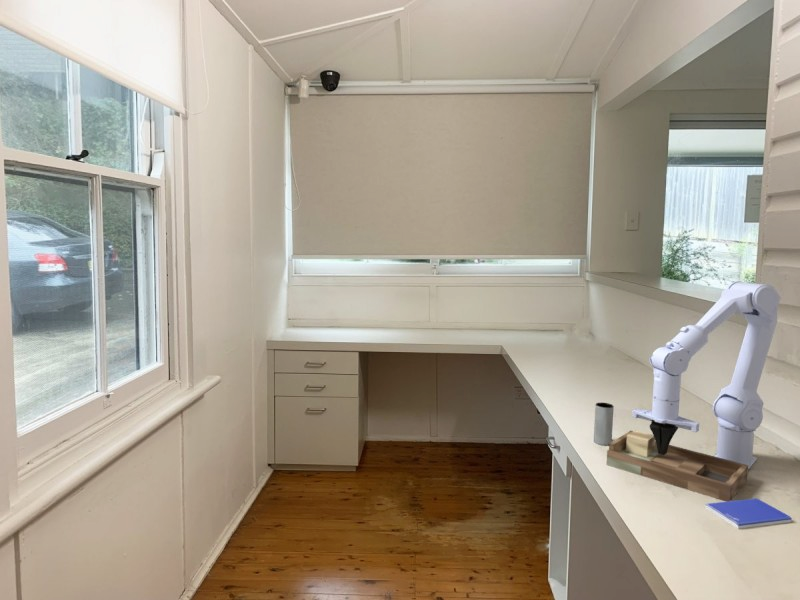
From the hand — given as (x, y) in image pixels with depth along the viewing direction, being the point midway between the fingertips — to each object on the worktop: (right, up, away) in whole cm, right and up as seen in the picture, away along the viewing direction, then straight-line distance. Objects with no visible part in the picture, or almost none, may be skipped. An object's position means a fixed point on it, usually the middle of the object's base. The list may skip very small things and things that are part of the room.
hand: (662, 453), depth 129 cm
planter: (-9, -2, +15) cm, 17 cm away
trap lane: (+1, -3, -4) cm, 5 cm away
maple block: (-4, -1, +4) cm, 5 cm away
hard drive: (+6, -6, -23) cm, 24 cm away
